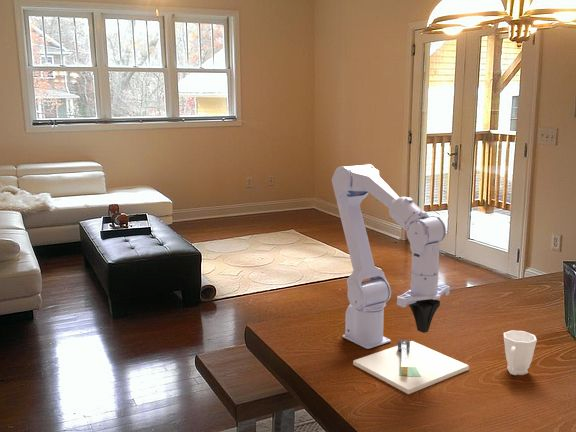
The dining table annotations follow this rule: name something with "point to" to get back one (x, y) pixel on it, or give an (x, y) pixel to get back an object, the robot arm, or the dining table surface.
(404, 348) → the lever
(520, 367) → the cup
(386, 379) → the board
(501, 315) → the dining table surface
